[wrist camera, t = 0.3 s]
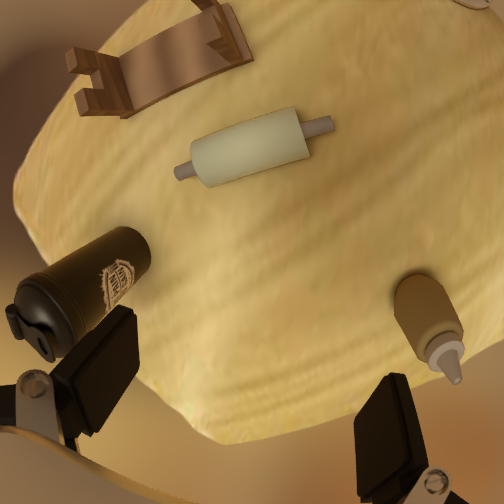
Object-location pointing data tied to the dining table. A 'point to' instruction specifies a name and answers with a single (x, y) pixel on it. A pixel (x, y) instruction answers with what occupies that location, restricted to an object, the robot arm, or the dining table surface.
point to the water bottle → (77, 292)
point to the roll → (251, 147)
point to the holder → (160, 63)
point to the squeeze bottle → (430, 324)
